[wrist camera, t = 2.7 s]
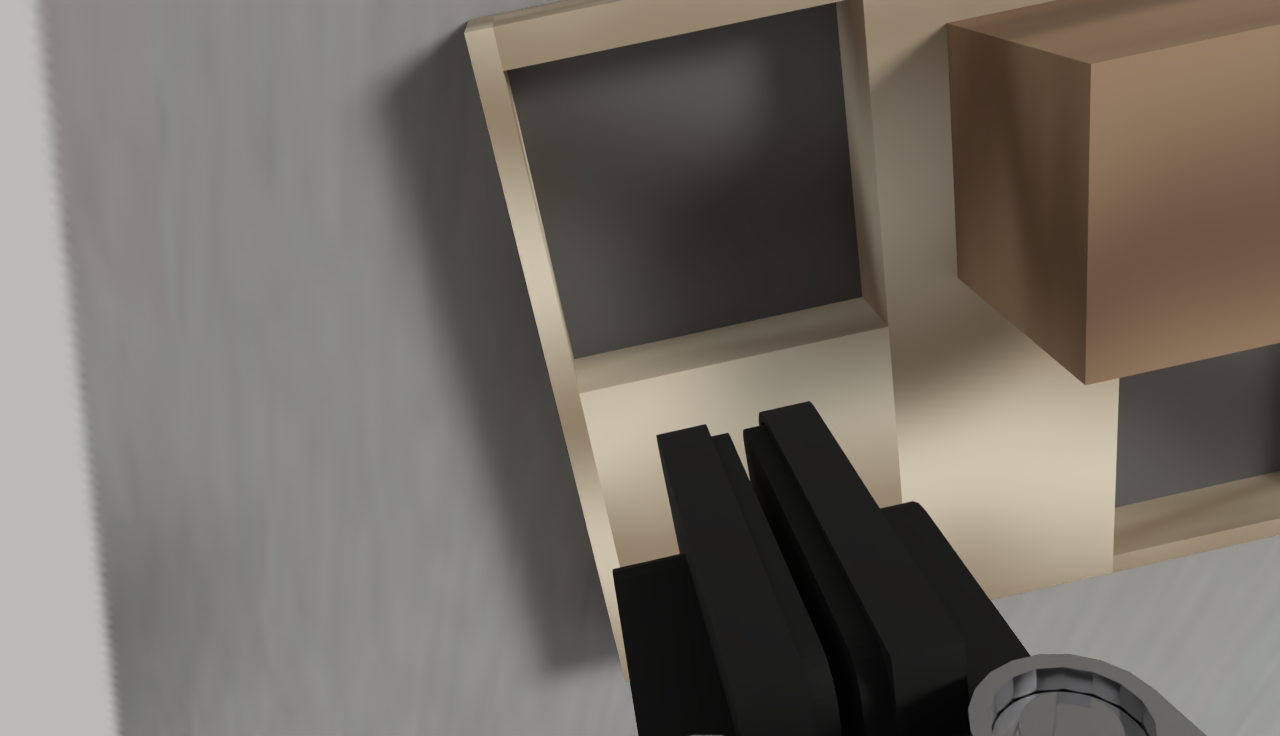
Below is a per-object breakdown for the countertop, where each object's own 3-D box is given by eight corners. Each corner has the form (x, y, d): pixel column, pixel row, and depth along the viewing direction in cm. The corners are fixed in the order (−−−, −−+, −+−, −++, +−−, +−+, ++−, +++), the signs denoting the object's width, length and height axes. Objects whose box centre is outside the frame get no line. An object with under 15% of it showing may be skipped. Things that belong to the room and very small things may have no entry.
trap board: (468, 20, 19) (457, 53, 15) (1762, -246, 20) (2085, -284, 16) (617, 627, 26) (637, 764, 22) (1584, 410, 26) (1780, 503, 22)
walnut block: (946, 23, 18) (1091, 64, 14) (1212, -33, 18) (1442, -11, 14) (957, 277, 20) (1085, 385, 16) (1194, 226, 20) (1388, 318, 16)
